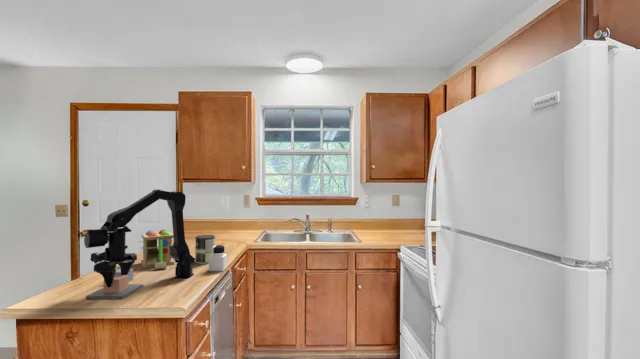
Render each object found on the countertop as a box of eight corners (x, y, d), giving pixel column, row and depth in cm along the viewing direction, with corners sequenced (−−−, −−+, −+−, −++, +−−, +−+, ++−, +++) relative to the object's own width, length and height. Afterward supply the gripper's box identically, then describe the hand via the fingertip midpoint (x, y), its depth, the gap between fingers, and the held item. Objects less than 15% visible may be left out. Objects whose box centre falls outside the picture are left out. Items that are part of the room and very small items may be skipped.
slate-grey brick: (133, 279, 143) (133, 268, 144) (124, 284, 137) (124, 272, 138) (119, 279, 144) (120, 268, 144) (110, 284, 138) (111, 272, 138)
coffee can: (194, 264, 170) (195, 238, 170) (195, 260, 180) (195, 235, 180) (215, 263, 174) (215, 237, 174) (214, 258, 184) (214, 234, 184)
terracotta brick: (128, 287, 130) (128, 275, 130) (119, 292, 124) (119, 279, 124) (113, 287, 130) (113, 275, 130) (103, 292, 124) (103, 279, 124)
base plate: (143, 286, 134) (143, 284, 134) (123, 298, 120) (123, 296, 120) (109, 286, 134) (109, 284, 134) (85, 298, 120) (85, 296, 120)
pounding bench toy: (178, 268, 164) (178, 233, 164) (146, 272, 155) (147, 235, 155) (169, 259, 182) (169, 228, 182) (140, 262, 174) (141, 230, 174)
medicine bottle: (227, 267, 165) (227, 244, 165) (223, 271, 158) (223, 247, 158) (213, 267, 165) (213, 244, 165) (208, 271, 157) (208, 247, 158)
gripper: (111, 240, 136) (110, 276, 136) (79, 249, 117) (78, 291, 117) (137, 240, 136) (137, 276, 136) (109, 249, 118) (109, 291, 117)
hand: (116, 283), depth 127 cm, fingers open, 9 cm apart
